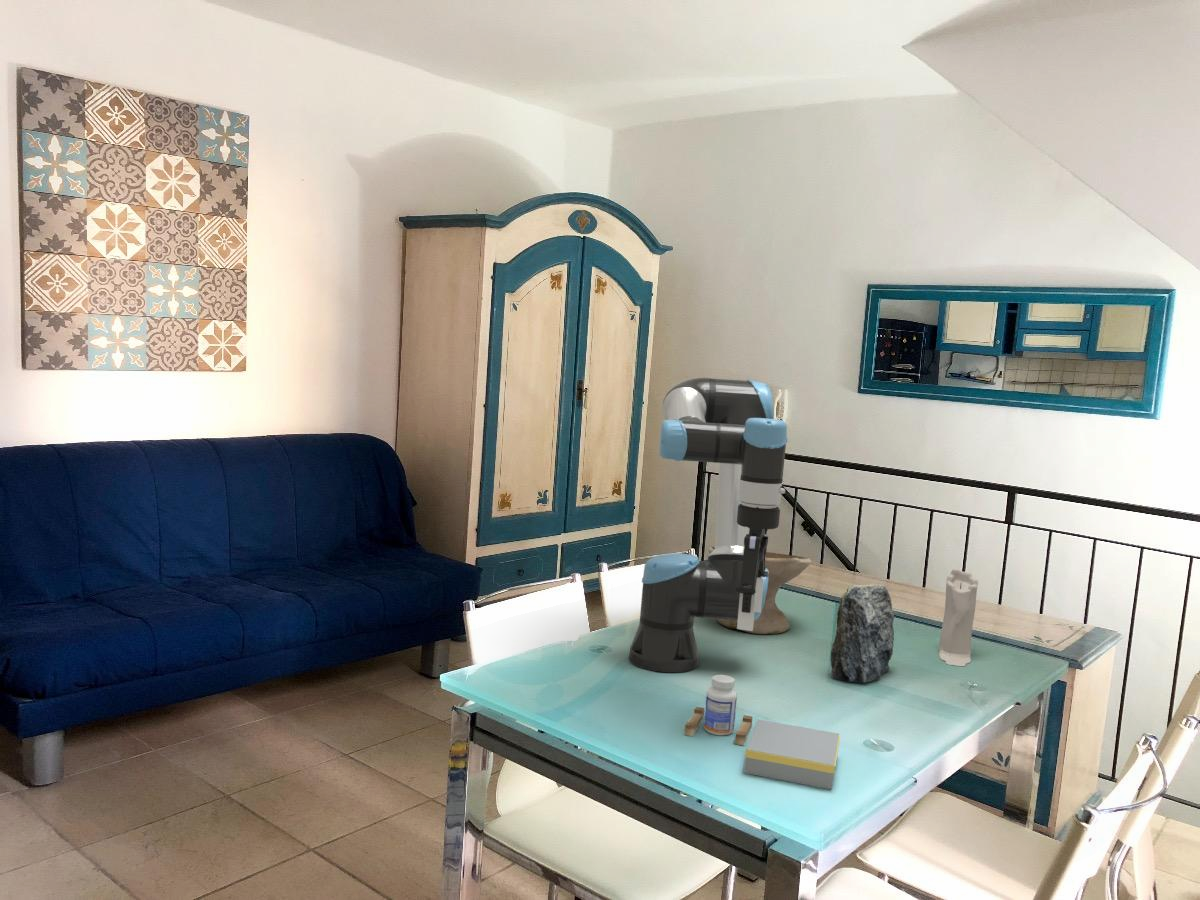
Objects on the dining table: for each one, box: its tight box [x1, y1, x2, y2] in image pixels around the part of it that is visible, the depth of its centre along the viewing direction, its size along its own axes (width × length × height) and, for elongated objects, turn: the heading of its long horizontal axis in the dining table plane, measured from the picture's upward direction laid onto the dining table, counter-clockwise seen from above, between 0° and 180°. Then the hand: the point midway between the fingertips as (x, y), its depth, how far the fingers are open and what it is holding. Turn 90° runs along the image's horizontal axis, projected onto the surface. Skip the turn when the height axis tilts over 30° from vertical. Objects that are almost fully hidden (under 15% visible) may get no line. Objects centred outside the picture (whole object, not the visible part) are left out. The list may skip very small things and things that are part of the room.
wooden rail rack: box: [683, 706, 753, 746], centre depth 177 cm, size 11×10×2 cm
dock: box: [743, 718, 841, 790], centre depth 164 cm, size 14×14×4 cm
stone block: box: [830, 583, 895, 684], centre depth 213 cm, size 18×9×20 cm, turn 134°
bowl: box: [708, 546, 812, 635], centre depth 246 cm, size 26×25×20 cm
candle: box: [938, 568, 979, 667], centre depth 230 cm, size 7×14×20 cm, turn 161°
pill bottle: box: [703, 674, 738, 736], centre depth 176 cm, size 5×5×10 cm
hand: (749, 620), depth 178 cm, fingers open, 13 cm apart
